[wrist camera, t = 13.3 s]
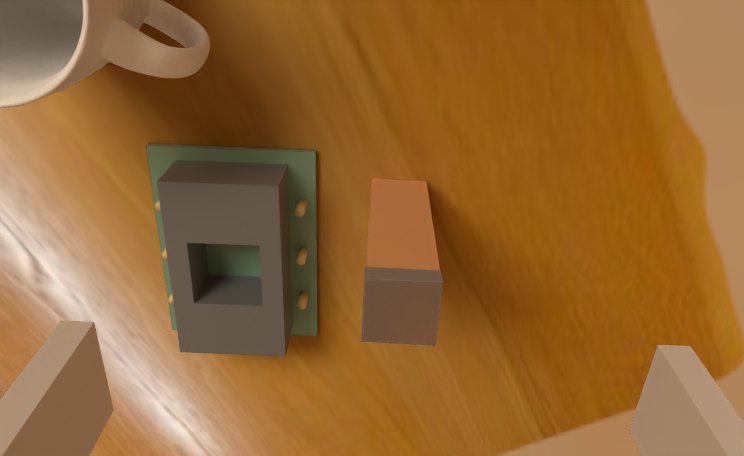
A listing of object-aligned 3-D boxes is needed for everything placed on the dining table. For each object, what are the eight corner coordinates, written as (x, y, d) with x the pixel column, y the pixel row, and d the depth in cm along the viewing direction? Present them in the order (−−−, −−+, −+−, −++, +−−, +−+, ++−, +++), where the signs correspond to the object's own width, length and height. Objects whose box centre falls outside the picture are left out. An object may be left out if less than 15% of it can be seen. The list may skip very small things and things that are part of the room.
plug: (371, 177, 44) (364, 278, 31) (427, 180, 44) (443, 282, 31) (368, 227, 46) (361, 341, 33) (422, 230, 46) (435, 345, 33)
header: (148, 143, 43) (123, 165, 39) (316, 150, 43) (308, 173, 39) (174, 326, 50) (155, 361, 46) (317, 332, 50) (311, 367, 46)
